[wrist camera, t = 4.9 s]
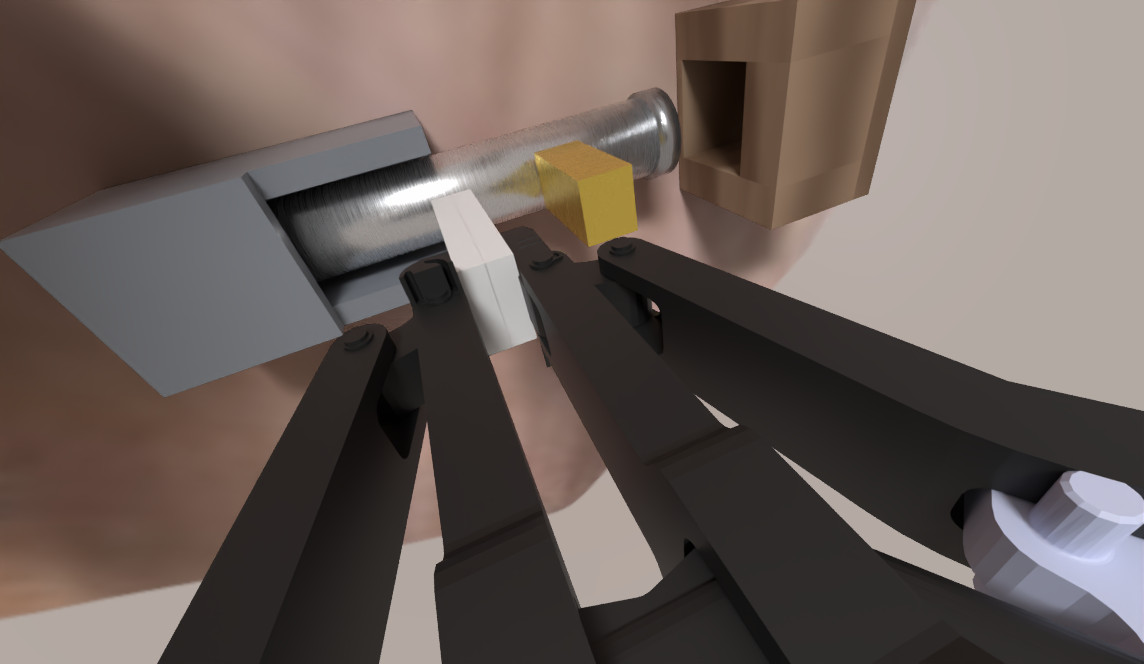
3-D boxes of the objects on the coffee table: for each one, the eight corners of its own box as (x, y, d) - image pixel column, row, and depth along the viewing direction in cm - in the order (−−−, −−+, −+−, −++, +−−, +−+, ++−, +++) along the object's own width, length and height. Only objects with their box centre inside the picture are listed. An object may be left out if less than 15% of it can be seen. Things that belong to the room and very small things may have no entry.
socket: (679, 188, 27) (771, 230, 21) (675, 13, 21) (797, -2, 15) (758, 162, 28) (868, 194, 22) (773, -11, 23) (924, -34, 16)
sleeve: (211, 320, 21) (163, 397, 16) (98, 190, 17) (-6, 242, 12) (460, 240, 23) (480, 287, 19) (411, 109, 20) (422, 128, 15)
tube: (227, 295, 20) (148, 424, 13) (162, 214, 17) (23, 321, 11) (642, 164, 24) (749, 210, 17) (636, 85, 22) (757, 100, 15)
